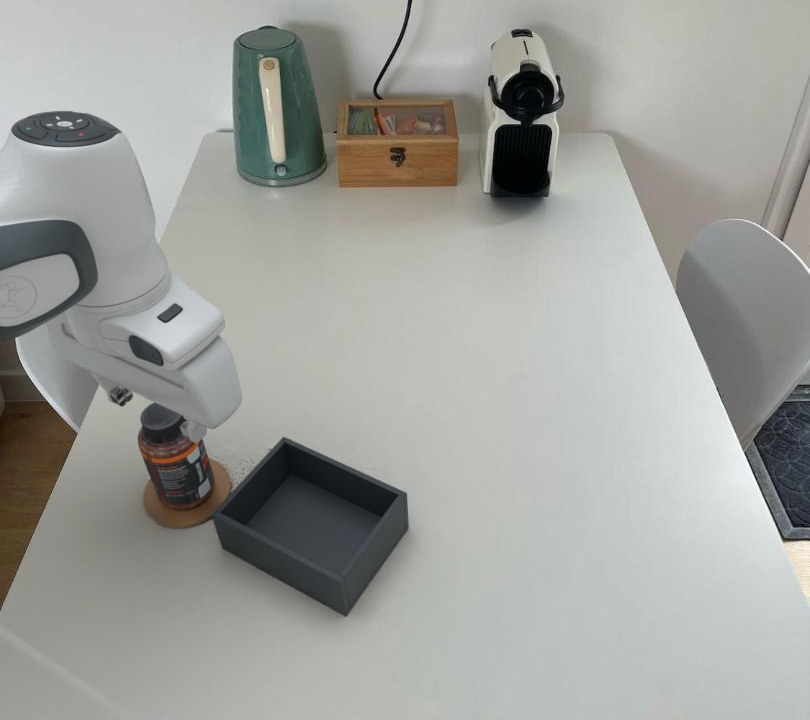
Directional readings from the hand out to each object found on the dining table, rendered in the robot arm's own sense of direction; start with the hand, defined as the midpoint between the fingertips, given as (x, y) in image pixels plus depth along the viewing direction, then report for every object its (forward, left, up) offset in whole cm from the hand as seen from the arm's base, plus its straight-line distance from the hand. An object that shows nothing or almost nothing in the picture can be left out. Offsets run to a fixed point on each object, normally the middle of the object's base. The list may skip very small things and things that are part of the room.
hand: (158, 417), depth 77 cm
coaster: (0, 0, -12) cm, 12 cm away
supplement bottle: (0, 0, -11) cm, 11 cm away
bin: (+2, -15, -12) cm, 19 cm away
